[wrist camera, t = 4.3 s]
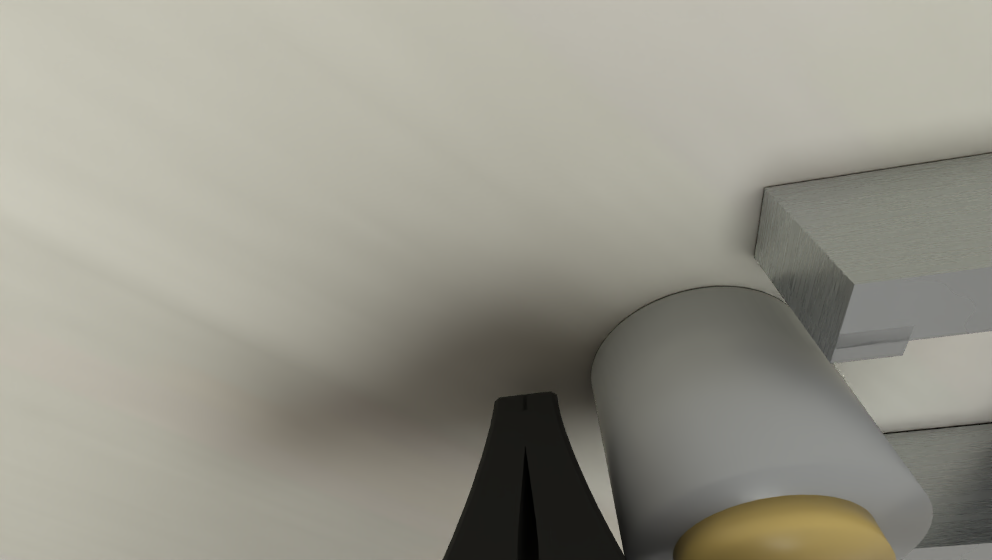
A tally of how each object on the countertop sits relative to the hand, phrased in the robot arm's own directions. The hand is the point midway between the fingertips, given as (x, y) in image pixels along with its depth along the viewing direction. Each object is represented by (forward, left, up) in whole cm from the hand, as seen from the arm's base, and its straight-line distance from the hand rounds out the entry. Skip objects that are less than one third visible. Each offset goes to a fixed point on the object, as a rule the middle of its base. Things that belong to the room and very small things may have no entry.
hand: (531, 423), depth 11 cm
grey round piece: (+4, 0, -1) cm, 4 cm away
